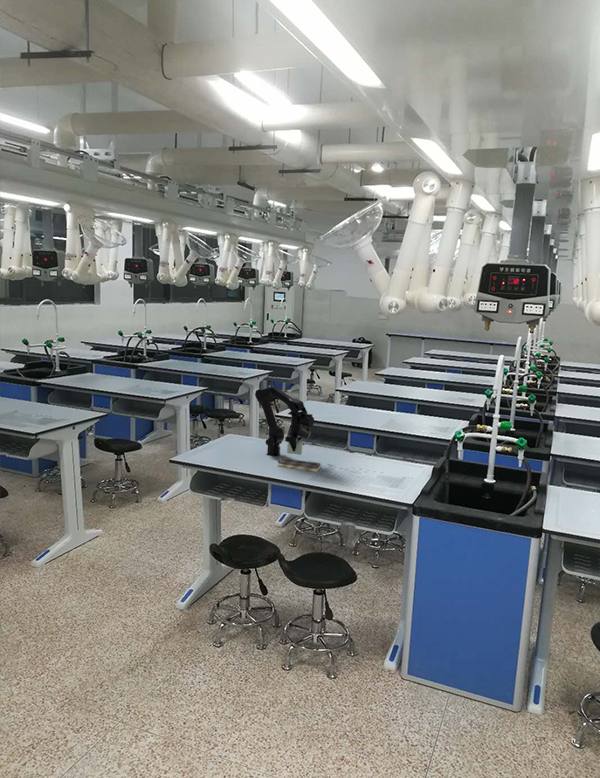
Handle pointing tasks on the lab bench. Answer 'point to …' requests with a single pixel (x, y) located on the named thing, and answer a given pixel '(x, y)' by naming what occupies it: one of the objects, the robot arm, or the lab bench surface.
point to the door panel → (297, 450)
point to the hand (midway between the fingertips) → (294, 450)
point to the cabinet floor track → (299, 464)
